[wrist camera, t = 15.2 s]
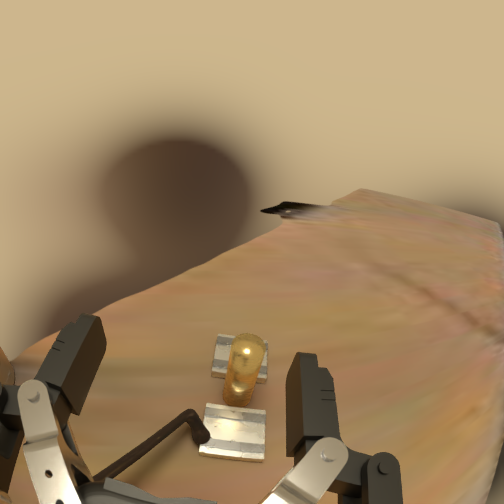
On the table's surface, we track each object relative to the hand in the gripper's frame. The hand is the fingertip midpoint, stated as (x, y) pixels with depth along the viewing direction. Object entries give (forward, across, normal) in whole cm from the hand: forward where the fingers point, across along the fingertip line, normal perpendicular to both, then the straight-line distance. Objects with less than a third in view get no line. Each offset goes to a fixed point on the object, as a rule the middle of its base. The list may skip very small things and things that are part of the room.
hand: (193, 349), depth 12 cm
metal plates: (+16, -4, +30) cm, 34 cm away
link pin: (+15, -4, +30) cm, 34 cm away
